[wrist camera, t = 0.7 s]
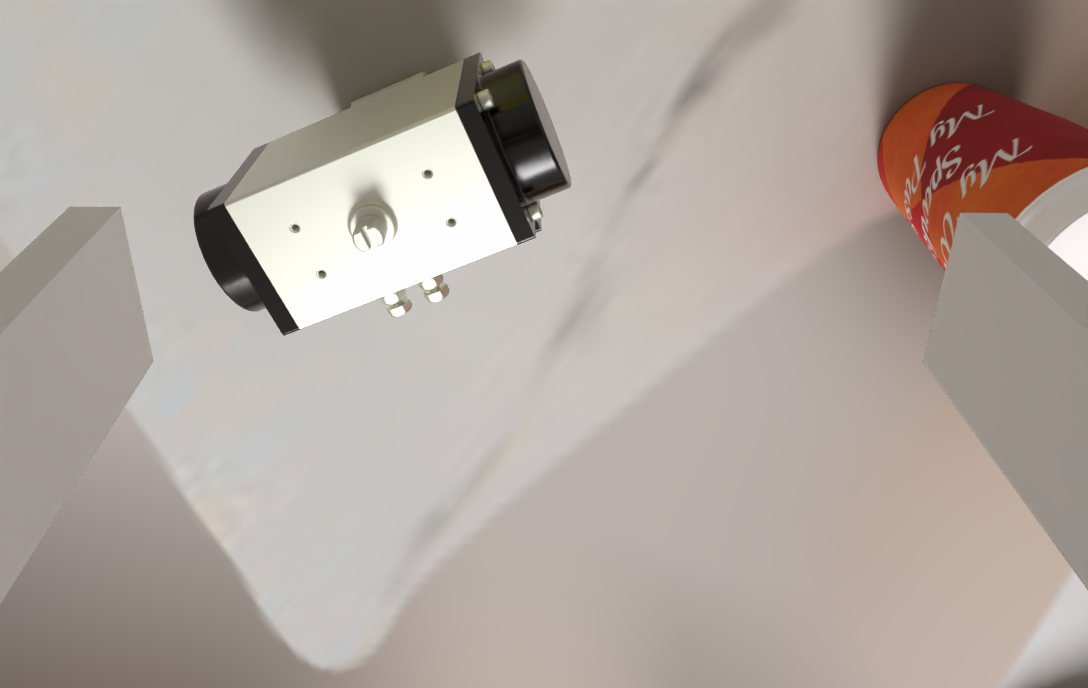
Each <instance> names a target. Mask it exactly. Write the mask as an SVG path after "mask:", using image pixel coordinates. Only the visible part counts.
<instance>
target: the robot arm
mask: <svg viewBox="0 0 1088 688" xmlns="http://www.w3.org/2000/svg"><path fill="white" fill-rule="evenodd" d="M152 362H153V357H152V352H151V348H150V343H149V338H148V334H147V329H146V324H145V320H144V315H143V310H142V306H141V301H140V296H139V292H138V287H137V282H136V278H135V273H134V268H133V264H132V259H131V254H130V250H129V245H128V240H127V236H126V231H125V226H124V222H123V217H122V212H121V207H69V208H68V209H67V210H66V211H65V212H64V213H63V214H62V215H60V216H59V217H58V218H57V219H56V220H55V221H54V222H53V223H52V224H51V225H50V226H49V227H48V228H47V229H46V230H44V231H43V232H42V233H41V234H40V235H39V236H38V237H37V238H36V239H35V240H34V241H33V242H32V243H31V244H30V245H28V246H27V247H26V248H25V249H24V250H23V251H22V252H21V253H20V254H19V255H18V256H17V257H16V258H15V259H14V260H12V261H11V262H10V263H9V264H8V265H7V266H6V267H5V268H4V269H3V270H2V271H1V272H0V604H1V602H2V600H3V599H4V597H5V596H6V594H7V592H8V591H9V589H10V588H11V586H12V585H13V583H14V581H15V580H16V578H17V577H18V575H19V574H20V572H21V570H22V569H23V567H24V566H25V564H26V562H27V561H28V559H29V558H30V556H31V554H32V553H33V551H34V550H35V548H36V547H37V545H38V543H39V542H40V540H41V538H42V537H43V535H44V534H45V532H46V531H47V529H48V527H49V526H50V524H51V523H52V521H53V520H54V518H55V516H56V514H57V513H58V512H59V510H60V508H61V507H62V505H63V504H64V502H65V500H66V499H67V497H68V496H69V494H70V493H71V491H72V489H73V488H74V486H75V485H76V483H77V481H78V480H79V478H80V477H81V475H82V473H83V472H84V470H85V469H86V467H87V466H88V464H89V462H90V461H91V459H92V458H93V456H94V454H95V453H96V451H97V450H98V448H99V446H100V445H101V443H102V442H103V440H104V439H105V437H106V435H107V434H108V432H109V431H110V429H111V427H112V426H113V424H114V423H115V421H116V419H117V418H118V416H119V414H120V413H121V412H122V410H123V408H124V407H125V405H126V404H127V402H128V400H129V399H130V397H131V396H132V394H133V392H134V391H135V389H136V388H137V386H138V385H139V383H140V381H141V380H142V378H143V377H144V375H145V373H146V372H147V370H148V369H149V367H150V365H151V364H152ZM923 363H924V364H925V366H926V367H927V368H928V370H929V371H930V373H931V374H932V375H933V377H934V378H935V380H936V381H937V382H938V384H939V385H940V386H941V388H942V389H943V391H944V392H945V393H946V395H947V396H948V398H949V399H950V400H951V402H952V403H953V404H954V406H955V407H956V409H957V410H958V411H959V413H960V414H961V416H962V417H963V418H964V420H965V421H966V422H967V424H968V425H969V426H970V428H971V429H972V431H973V432H974V433H975V435H976V436H977V437H978V439H979V440H980V442H981V443H982V445H983V446H984V447H985V449H986V450H987V451H988V453H989V454H990V456H991V457H992V458H993V460H994V461H995V463H996V464H997V465H998V467H999V468H1000V469H1001V471H1002V472H1003V474H1004V475H1005V476H1006V477H1007V479H1008V480H1009V482H1010V483H1011V485H1012V486H1013V487H1014V489H1015V490H1016V492H1017V493H1018V494H1019V495H1020V497H1021V498H1022V500H1023V501H1024V502H1025V504H1026V505H1027V506H1028V508H1029V509H1030V511H1031V512H1032V514H1033V515H1034V516H1035V518H1036V519H1037V520H1038V522H1039V523H1040V525H1041V526H1042V527H1043V529H1044V530H1045V532H1046V533H1047V534H1048V536H1049V537H1050V538H1051V540H1052V541H1053V543H1054V544H1055V545H1056V547H1057V548H1058V550H1059V551H1060V552H1061V554H1062V555H1063V556H1064V558H1065V559H1066V561H1067V562H1068V563H1069V565H1070V566H1071V568H1072V569H1073V570H1074V572H1075V573H1076V574H1077V576H1078V577H1079V579H1080V580H1081V581H1082V583H1083V584H1084V585H1085V587H1086V588H1087V590H1088V281H1087V280H1086V279H1085V278H1084V277H1083V276H1081V275H1080V274H1079V273H1078V272H1077V271H1075V270H1074V269H1073V268H1072V267H1071V266H1070V265H1068V264H1067V263H1066V262H1065V261H1064V260H1062V259H1061V258H1060V257H1059V256H1058V255H1057V254H1055V253H1054V252H1053V251H1052V250H1051V249H1049V248H1048V247H1047V246H1046V245H1045V244H1044V243H1042V242H1041V241H1040V240H1039V239H1038V238H1036V237H1035V236H1034V235H1033V234H1032V233H1031V232H1029V231H1028V230H1027V229H1026V228H1025V227H1023V226H1022V225H1021V224H1020V223H1019V222H1018V221H1016V220H1015V219H1014V218H1013V217H1012V216H1010V215H1009V214H1008V213H960V215H959V219H958V223H957V227H956V231H955V235H954V239H953V243H952V247H951V251H950V255H949V259H948V263H947V267H946V271H945V275H944V279H943V283H942V287H941V291H940V295H939V299H938V303H937V307H936V311H935V315H934V319H933V323H932V327H931V331H930V335H929V339H928V343H927V346H926V351H925V355H924V359H923Z"/></svg>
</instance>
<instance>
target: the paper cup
mask: <svg viewBox="0 0 1088 688" xmlns="http://www.w3.org/2000/svg"><path fill="white" fill-rule="evenodd" d="M878 170H879V175H880V178H881V181H882V183H883V185H884V187H885V189H886V191H887V192H888V194H889V196H890V197H891V199H892V200H893V202H894V203H895V204H896V206H897V207H898V209H899V210H900V212H901V213H902V214H903V216H904V217H905V218H906V220H907V221H908V222H909V224H910V225H911V226H912V228H913V229H914V230H915V232H916V233H917V234H918V236H919V237H920V238H921V240H922V241H923V242H924V244H925V245H926V246H927V248H928V249H929V250H930V251H931V253H932V254H933V256H934V257H935V258H936V260H937V261H938V262H939V263H940V265H941V266H942V267H943V268H944V270H945V271H946V267H947V263H948V259H949V255H950V251H951V247H952V243H953V239H954V235H955V231H956V227H957V223H958V219H959V215H960V213H1008V214H1009V215H1010V216H1012V217H1013V218H1014V219H1015V220H1016V221H1018V222H1019V223H1020V224H1021V225H1022V226H1023V227H1025V228H1026V229H1027V230H1028V231H1029V232H1031V233H1032V234H1033V235H1034V236H1035V237H1036V238H1038V239H1039V240H1040V241H1041V242H1042V243H1044V244H1045V245H1046V246H1047V247H1048V248H1049V249H1051V250H1052V251H1053V252H1054V253H1055V254H1057V255H1058V256H1059V257H1060V258H1061V259H1062V260H1064V261H1065V262H1066V263H1067V264H1068V265H1070V266H1071V267H1072V268H1073V269H1074V270H1075V271H1077V272H1078V273H1079V274H1080V275H1081V276H1083V277H1084V278H1085V279H1086V280H1087V281H1088V129H1086V128H1084V127H1082V126H1080V125H1077V124H1075V123H1073V122H1071V121H1069V120H1067V119H1064V118H1061V117H1059V116H1056V115H1053V114H1051V113H1048V112H1045V111H1043V110H1040V109H1037V108H1035V107H1032V106H1030V105H1027V104H1025V103H1022V102H1020V101H1018V100H1015V99H1013V98H1010V97H1008V96H1005V95H1003V94H1000V93H998V92H995V91H992V90H990V89H987V88H984V87H981V86H977V85H973V84H967V83H948V84H943V85H939V86H935V87H932V88H930V89H927V90H925V91H923V92H921V93H920V94H918V95H916V96H915V97H913V98H912V99H910V100H909V101H908V102H907V103H905V104H904V105H903V106H902V107H901V108H900V109H899V110H898V111H897V113H896V114H895V115H894V116H893V118H892V119H891V120H890V122H889V124H888V125H887V127H886V129H885V131H884V133H883V135H882V138H881V141H880V145H879V149H878Z"/></svg>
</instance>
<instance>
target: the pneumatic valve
mask: <svg viewBox="0 0 1088 688" xmlns="http://www.w3.org/2000/svg"><path fill="white" fill-rule="evenodd" d="M570 187H571V178H570V174H569V170H568V167H567V163H566V160H565V157H564V154H563V151H562V148H561V145H560V142H559V140H558V137H557V134H556V131H555V129H554V126H553V124H552V121H551V118H550V116H549V113H548V111H547V108H546V106H545V104H544V101H543V99H542V96H541V94H540V92H539V89H538V87H537V85H536V83H535V81H534V79H533V76H532V74H531V72H530V70H529V69H528V67H527V65H526V64H525V62H524V61H523V60H518V61H515V62H513V63H510V64H508V65H506V66H503V67H501V68H499V69H496V70H495V68H494V65H493V63H492V61H491V60H487V61H485V62H484V60H483V58H482V55H481V53H478V54H475V55H473V56H470V57H468V58H466V59H463V60H461V61H459V62H456V63H454V64H452V65H449V66H447V67H445V68H442V69H440V70H438V71H435V72H433V73H431V74H425V72H424V71H423V72H420V73H418V74H416V75H413V76H411V77H409V78H406V79H404V80H402V81H399V82H397V83H395V84H392V85H390V86H388V87H385V88H383V89H381V90H378V91H376V92H374V93H371V94H369V95H367V96H364V97H362V98H360V99H357V100H355V101H353V102H351V108H349V109H346V110H344V111H342V112H339V113H337V114H335V115H332V116H330V117H328V118H325V119H323V120H321V121H318V122H316V123H314V124H311V125H309V126H307V127H304V128H302V129H300V130H297V131H295V132H293V133H290V134H288V135H286V136H283V137H281V138H279V139H276V140H274V141H271V142H269V143H267V144H264V145H262V146H260V147H257V148H255V149H254V150H253V151H252V152H251V153H250V155H249V156H248V157H247V159H246V160H245V161H244V163H243V164H242V165H241V166H240V168H239V169H238V170H237V172H236V173H235V174H234V176H233V177H232V178H231V179H230V181H229V182H228V183H227V184H224V185H222V186H219V187H217V188H215V189H212V190H210V191H208V192H205V193H203V194H202V195H200V196H199V198H198V199H197V201H196V204H195V207H194V227H195V232H196V237H197V240H198V244H199V247H200V249H201V252H202V255H203V257H204V259H205V262H206V264H207V266H208V268H209V270H210V271H211V273H212V275H213V277H214V278H215V280H216V281H217V283H218V284H219V286H220V287H221V288H222V290H223V291H224V292H225V293H226V294H227V295H228V297H229V298H230V299H231V300H233V301H234V302H235V303H236V304H237V305H239V306H240V307H242V308H244V309H246V310H248V311H260V310H262V309H265V308H267V310H268V312H269V313H270V315H271V316H272V318H273V320H274V321H275V323H276V325H277V326H278V328H279V329H280V331H281V333H282V334H283V335H284V336H285V335H287V334H290V333H292V332H295V331H297V330H300V329H303V328H305V327H308V326H310V325H313V324H315V323H318V322H321V321H323V320H326V319H328V318H331V317H333V316H336V315H339V314H341V313H344V312H346V311H349V310H351V309H354V308H357V307H359V306H362V305H364V304H367V303H369V302H372V301H374V300H377V299H380V298H381V300H382V301H383V303H384V304H385V305H388V306H387V307H386V309H387V311H388V312H389V314H390V315H391V316H392V317H399V316H401V315H403V314H405V313H407V312H408V311H409V310H410V309H411V307H412V303H411V301H410V299H409V298H407V297H405V290H404V289H405V288H408V287H410V286H413V285H416V284H419V286H420V288H421V289H422V290H425V292H424V293H423V294H424V296H425V298H426V299H427V300H428V301H429V302H430V303H434V302H438V301H440V300H442V299H444V298H445V297H446V296H447V295H448V294H449V288H448V286H447V284H446V283H444V282H442V281H443V276H442V274H444V273H446V272H449V271H452V270H454V269H457V268H459V267H462V266H464V265H467V264H470V263H472V262H475V261H477V260H480V259H482V258H485V257H487V256H490V255H493V254H495V253H498V252H500V251H503V250H505V249H508V248H511V247H513V246H516V245H518V244H521V243H523V242H526V241H529V240H531V239H534V238H536V234H535V233H536V232H539V231H541V218H542V217H543V214H542V211H541V208H540V201H539V200H540V199H543V198H545V197H548V196H550V195H553V194H555V193H558V192H560V191H563V190H566V189H568V188H570Z"/></svg>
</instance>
